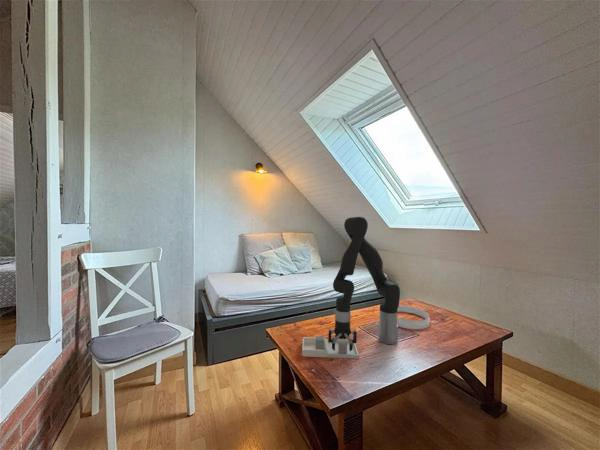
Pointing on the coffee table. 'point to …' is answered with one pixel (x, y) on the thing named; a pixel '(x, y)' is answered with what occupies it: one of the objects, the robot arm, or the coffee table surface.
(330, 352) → the parts tray
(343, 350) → the light grey block
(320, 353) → the open box
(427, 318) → the white ring
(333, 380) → the coffee table surface
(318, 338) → the blue-grey block
